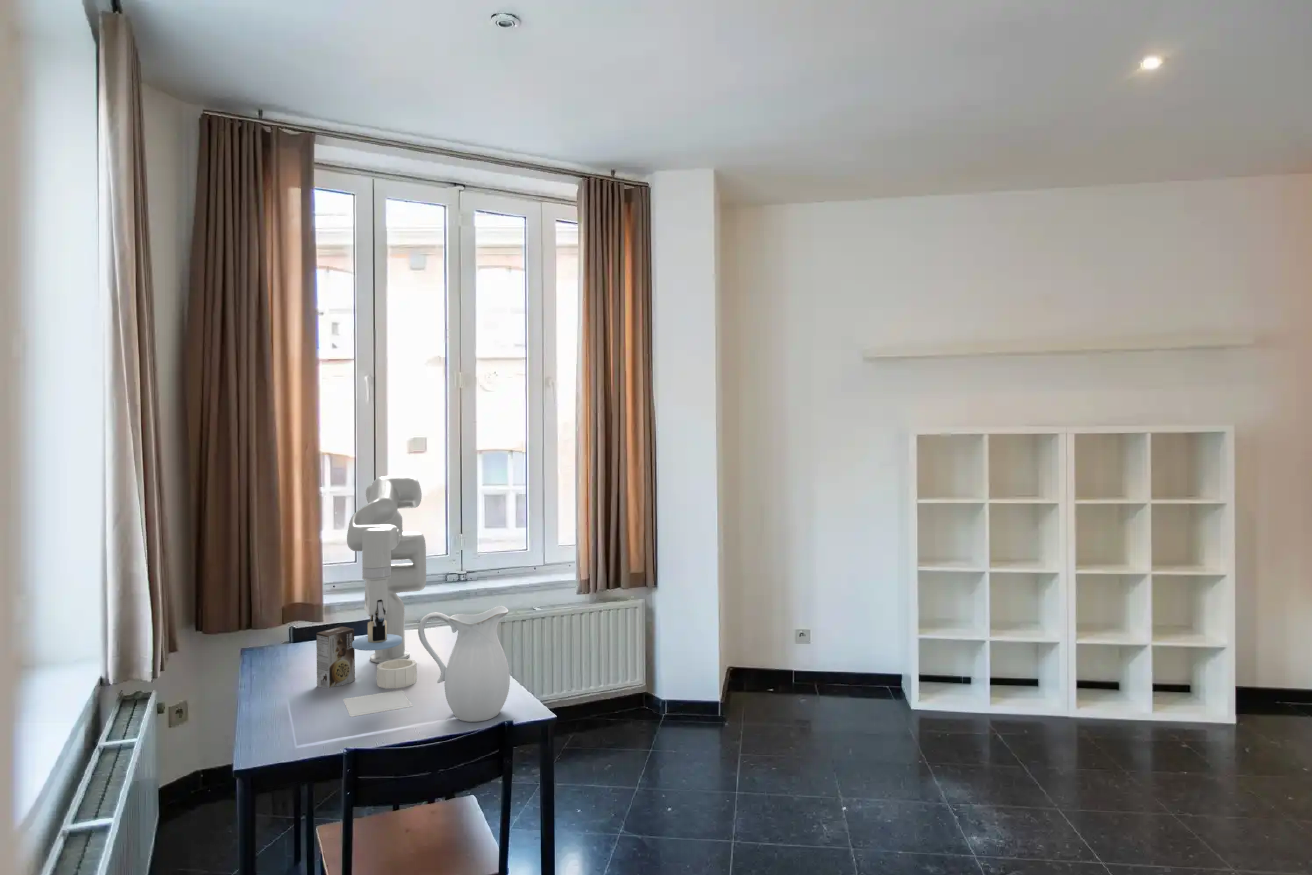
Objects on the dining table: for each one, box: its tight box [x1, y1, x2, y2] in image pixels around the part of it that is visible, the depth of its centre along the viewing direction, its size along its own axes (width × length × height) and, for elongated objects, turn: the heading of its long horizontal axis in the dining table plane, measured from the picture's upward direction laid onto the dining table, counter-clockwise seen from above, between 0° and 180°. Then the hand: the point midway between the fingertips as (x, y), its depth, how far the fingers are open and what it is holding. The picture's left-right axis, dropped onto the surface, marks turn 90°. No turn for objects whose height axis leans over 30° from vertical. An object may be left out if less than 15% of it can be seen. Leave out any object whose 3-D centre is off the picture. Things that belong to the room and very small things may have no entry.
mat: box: [342, 689, 414, 718], centre depth 210 cm, size 16×16×1 cm
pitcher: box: [417, 605, 511, 723], centre depth 202 cm, size 24×17×28 cm
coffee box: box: [315, 626, 356, 689], centre depth 229 cm, size 9×6×16 cm
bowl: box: [376, 658, 418, 689], centre depth 228 cm, size 11×11×6 cm
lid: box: [352, 620, 402, 652], centre depth 211 cm, size 13×13×6 cm
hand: (377, 637), depth 211 cm, fingers closed on lid, 5 cm apart
